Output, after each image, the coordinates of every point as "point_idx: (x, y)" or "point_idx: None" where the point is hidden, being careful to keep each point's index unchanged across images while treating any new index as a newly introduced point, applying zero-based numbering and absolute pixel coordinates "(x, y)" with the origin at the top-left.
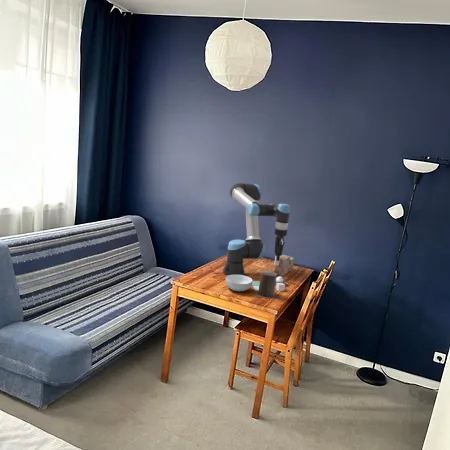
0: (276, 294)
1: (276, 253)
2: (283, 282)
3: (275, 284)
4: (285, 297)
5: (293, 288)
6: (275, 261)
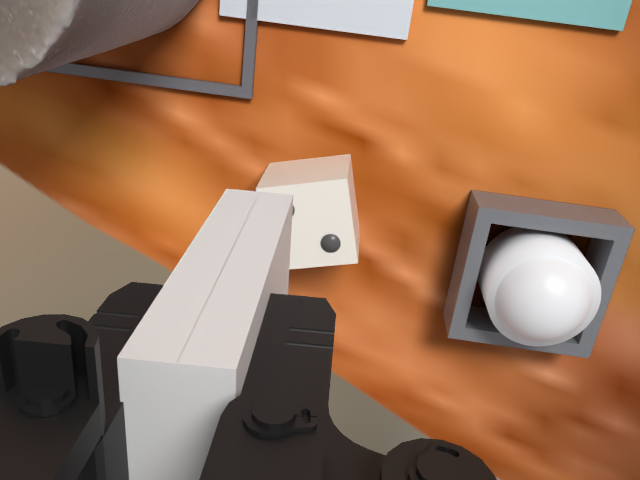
0: (114, 80)
1: (211, 458)
2: (459, 310)
3: (473, 197)
4: (56, 169)
5: (370, 375)
6: (199, 241)
